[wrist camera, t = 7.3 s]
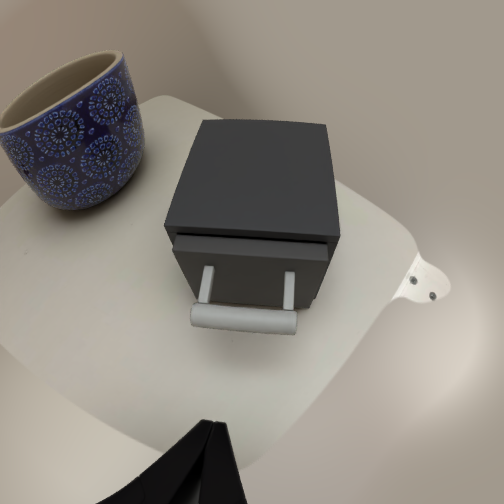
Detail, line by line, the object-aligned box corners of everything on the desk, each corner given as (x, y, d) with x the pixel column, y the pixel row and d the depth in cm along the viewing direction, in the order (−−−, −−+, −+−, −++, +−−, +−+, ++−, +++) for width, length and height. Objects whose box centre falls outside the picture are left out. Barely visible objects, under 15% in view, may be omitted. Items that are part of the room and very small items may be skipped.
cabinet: (315, 299, 24) (340, 236, 16) (194, 290, 25) (163, 225, 17) (313, 197, 30) (325, 124, 22) (215, 192, 31) (202, 119, 23)
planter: (114, 128, 40) (86, 49, 27) (181, 159, 34) (155, 49, 21) (34, 195, 33) (-14, 120, 20) (79, 251, 27) (3, 150, 15)
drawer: (307, 355, 21) (329, 327, 14) (188, 345, 21) (156, 312, 15) (308, 208, 28) (319, 146, 22) (216, 202, 29) (205, 141, 22)
